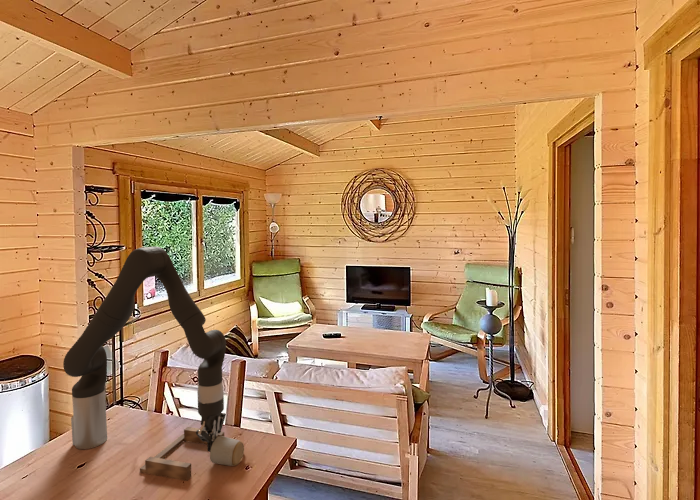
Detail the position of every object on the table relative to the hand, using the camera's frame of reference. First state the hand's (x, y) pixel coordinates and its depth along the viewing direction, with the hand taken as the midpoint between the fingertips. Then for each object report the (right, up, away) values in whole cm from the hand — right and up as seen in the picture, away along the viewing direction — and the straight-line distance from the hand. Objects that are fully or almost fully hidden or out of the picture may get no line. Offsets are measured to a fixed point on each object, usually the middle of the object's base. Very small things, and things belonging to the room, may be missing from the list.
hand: (212, 450), depth 127 cm
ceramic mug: (+5, -4, +1) cm, 6 cm away
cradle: (-8, -3, +2) cm, 9 cm away
